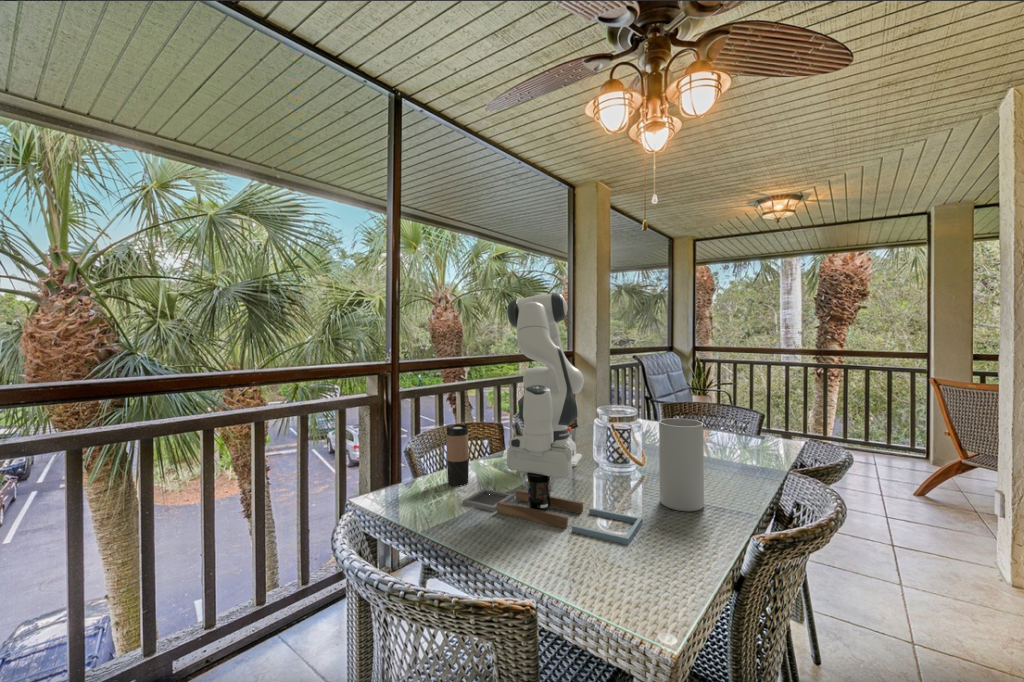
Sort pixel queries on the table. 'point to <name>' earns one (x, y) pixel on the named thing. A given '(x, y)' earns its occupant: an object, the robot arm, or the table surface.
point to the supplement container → (538, 492)
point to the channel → (539, 514)
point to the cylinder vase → (681, 464)
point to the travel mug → (457, 455)
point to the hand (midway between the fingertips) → (539, 488)
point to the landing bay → (611, 536)
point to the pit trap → (487, 499)
